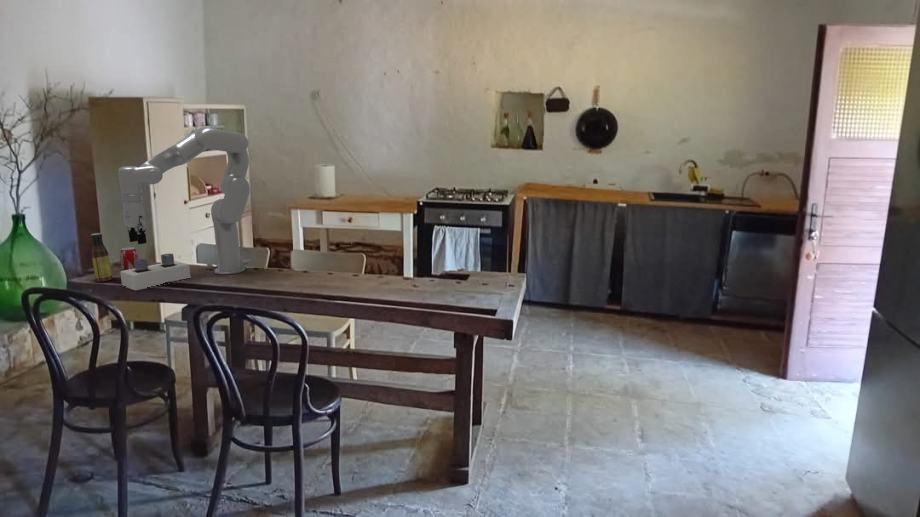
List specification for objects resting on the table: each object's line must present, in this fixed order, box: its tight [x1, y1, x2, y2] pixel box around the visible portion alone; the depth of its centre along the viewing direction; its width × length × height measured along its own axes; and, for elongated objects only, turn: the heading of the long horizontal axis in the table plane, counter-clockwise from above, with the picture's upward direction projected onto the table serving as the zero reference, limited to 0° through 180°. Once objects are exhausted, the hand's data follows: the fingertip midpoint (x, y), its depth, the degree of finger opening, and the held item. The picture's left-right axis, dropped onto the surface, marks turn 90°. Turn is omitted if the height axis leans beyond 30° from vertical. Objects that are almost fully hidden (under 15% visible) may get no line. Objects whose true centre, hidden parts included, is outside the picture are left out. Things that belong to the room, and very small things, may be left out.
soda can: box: [119, 246, 140, 271], centre depth 285 cm, size 7×7×12 cm
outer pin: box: [134, 257, 149, 273], centre depth 269 cm, size 5×5×6 cm
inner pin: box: [160, 253, 175, 268], centre depth 277 cm, size 5×5×6 cm
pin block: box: [120, 260, 192, 292], centre depth 274 cm, size 23×12×6 cm, turn 139°
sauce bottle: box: [90, 232, 113, 283], centre depth 276 cm, size 6×6×20 cm
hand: (138, 242), depth 266 cm, fingers open, 6 cm apart
